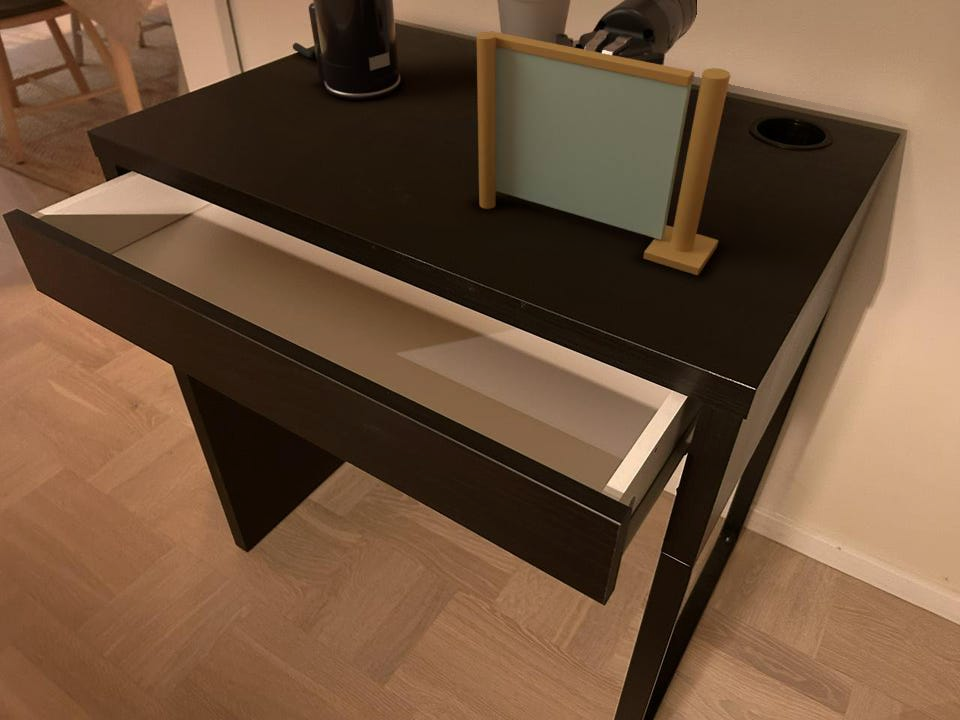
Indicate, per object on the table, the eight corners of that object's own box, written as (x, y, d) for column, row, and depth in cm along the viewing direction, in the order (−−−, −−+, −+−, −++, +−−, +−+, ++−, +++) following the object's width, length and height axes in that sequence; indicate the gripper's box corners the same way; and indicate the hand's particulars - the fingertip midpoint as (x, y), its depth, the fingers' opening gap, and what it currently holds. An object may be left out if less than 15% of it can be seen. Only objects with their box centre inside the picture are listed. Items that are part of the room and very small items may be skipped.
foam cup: (532, 58, 100) (536, -50, 91) (583, 78, 95) (592, -34, 86) (478, 77, 96) (477, -34, 87) (528, 99, 90) (532, -16, 82)
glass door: (665, 234, 67) (694, 71, 57) (660, 241, 66) (689, 76, 56) (491, 183, 74) (491, 30, 64) (485, 189, 73) (483, 35, 63)
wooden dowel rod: (498, 203, 73) (499, 34, 62) (490, 210, 72) (489, 40, 61) (484, 198, 73) (482, 30, 63) (476, 206, 72) (472, 36, 62)
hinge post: (717, 247, 67) (759, 68, 56) (697, 276, 64) (739, 92, 53) (664, 231, 69) (695, 56, 58) (642, 259, 66) (672, 78, 55)
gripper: (589, -13, 84) (512, 34, 74) (702, 6, 79) (637, 60, 68) (583, 54, 90) (511, 107, 79) (689, 76, 84) (627, 136, 74)
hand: (570, 85), depth 74 cm, fingers closed
